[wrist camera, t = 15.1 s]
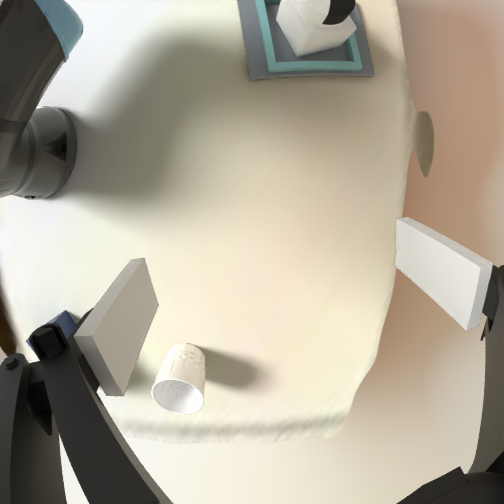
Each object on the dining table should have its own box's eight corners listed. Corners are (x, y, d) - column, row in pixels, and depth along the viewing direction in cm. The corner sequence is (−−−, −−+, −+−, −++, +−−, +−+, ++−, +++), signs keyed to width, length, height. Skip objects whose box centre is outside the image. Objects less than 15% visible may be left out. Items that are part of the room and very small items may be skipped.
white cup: (156, 346, 47) (141, 384, 38) (196, 334, 46) (187, 373, 37) (177, 378, 49) (168, 418, 40) (216, 368, 49) (212, 409, 39)
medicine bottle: (319, 9, 31) (342, -33, 19) (341, 46, 33) (373, 13, 21) (274, 19, 31) (286, -25, 20) (296, 58, 33) (317, 23, 22)
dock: (250, 80, 35) (250, 74, 33) (237, 2, 31) (237, -7, 28) (371, 76, 35) (378, 72, 33) (352, 2, 31) (357, -6, 28)
